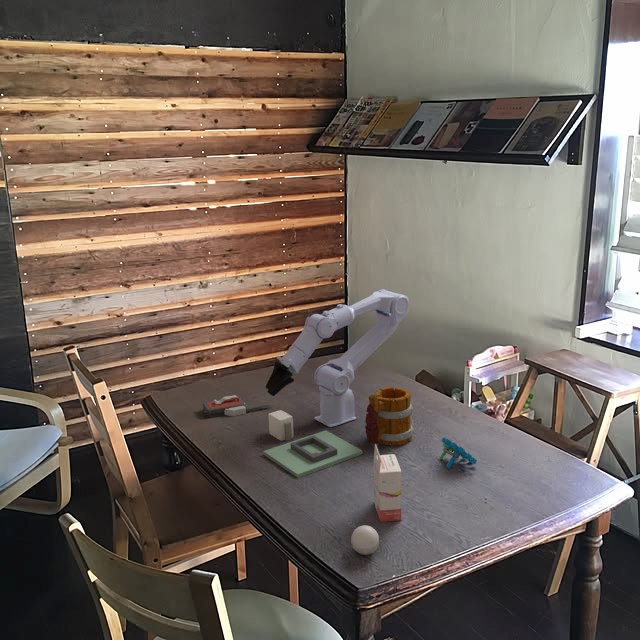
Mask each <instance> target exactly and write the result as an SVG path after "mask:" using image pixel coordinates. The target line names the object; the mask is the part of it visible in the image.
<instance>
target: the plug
mask: <svg viewBox="0 0 640 640" xmlns="http://www.w3.org/2000/svg"><path fill="white" fill-rule="evenodd" d="M293 418H294V417H293V416H292V415H291V414H289V413H287V412H285V411H284V410H282V409H280V410H279V409H278V410H276V411H273V412H270V413H268V428H269V429H268V430H269V432H268V433H269V435H271V436H273V437H274V438H275V439H277V440H279V441H281V442H282V441H287V442H288V441H291V440H293V438H294V419H293Z"/></svg>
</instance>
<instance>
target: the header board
mask: <svg viewBox="0 0 640 640" xmlns="http://www.w3.org/2000/svg"><path fill="white" fill-rule="evenodd" d="M262 454H263V456H265V457H266V458H268V459H269V460H270V461H272V462H273V463H275V464H277V465H278V466H280V467H281V468H282V469H284V470H286V471H287V472H288V473H290V474H291V475H292V476H295V478H297V479H299V478H301V477H302V478H303V477H305V476H308V475H310V474H313V473H316V472H318V471H321V470H323V469H326V468H329V467H332V466H334V465H337V464H339V463H342V462H345V461H348V460H350V459H353V458H357V457H358V456H361V455H363V450H362V449H360V448H359V447H357V446H355V445H353V444H352V443H349V442H348V441H346V440H344V439H342V438H340V437H339V436H337V435H335V434H333V433H331V432H330V431H328V430H323V431H320V432H316V433H314V434H311V435H308V436H304V437H302V438H298V439H296V440H293V441H290V442H288V443H284V444H281V445H278V446H275V447H272V448H269V449H266V450H263V453H262Z"/></svg>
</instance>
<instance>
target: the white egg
mask: <svg viewBox="0 0 640 640" xmlns="http://www.w3.org/2000/svg"><path fill="white" fill-rule="evenodd" d="M380 540H381V539H380V536H379V533H378V532H377V530H376V529H375V528H374V527H372V526H370V525H367V524H365V525H364V524H363V525H360V526H357V527H356V528H355V529H354V530H353V532H352V534H351V537H350V543H351V546H352V548H353V549H354V551H356V553H359V555H364V556H368V555H371V554H373V553H374V552H376V550H377V549H378V547H379V544H380Z"/></svg>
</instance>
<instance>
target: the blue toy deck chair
mask: <svg viewBox="0 0 640 640" xmlns="http://www.w3.org/2000/svg"><path fill="white" fill-rule="evenodd" d="M441 442H442V443H443V444H442V447H443V449H442V451H443V452H442V454H441V455H440V456H439V458H438V459H439V460H440V461H442V460H443V459H444V457H445V456H446V455H449V456H451V458H450V459H449V461H448V462H447V464H446V467H447V468H448V469H450V468H451V467H452V465H454V463H455V461H456V460H458V459H459V458H460V457H461V458H462V459H464V460H467V462H469V463H471V464H473V465H476V464H477V462H478V460H477V459H476V458H474V457H473V455H471V454H470V453H469V452H466V450H465V449H464V448H463V447H462V446H459V445H458V444H457V443H455V442H453V441H451V440H450V439H449V438H445V436H444V437H442V439H441Z"/></svg>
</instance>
